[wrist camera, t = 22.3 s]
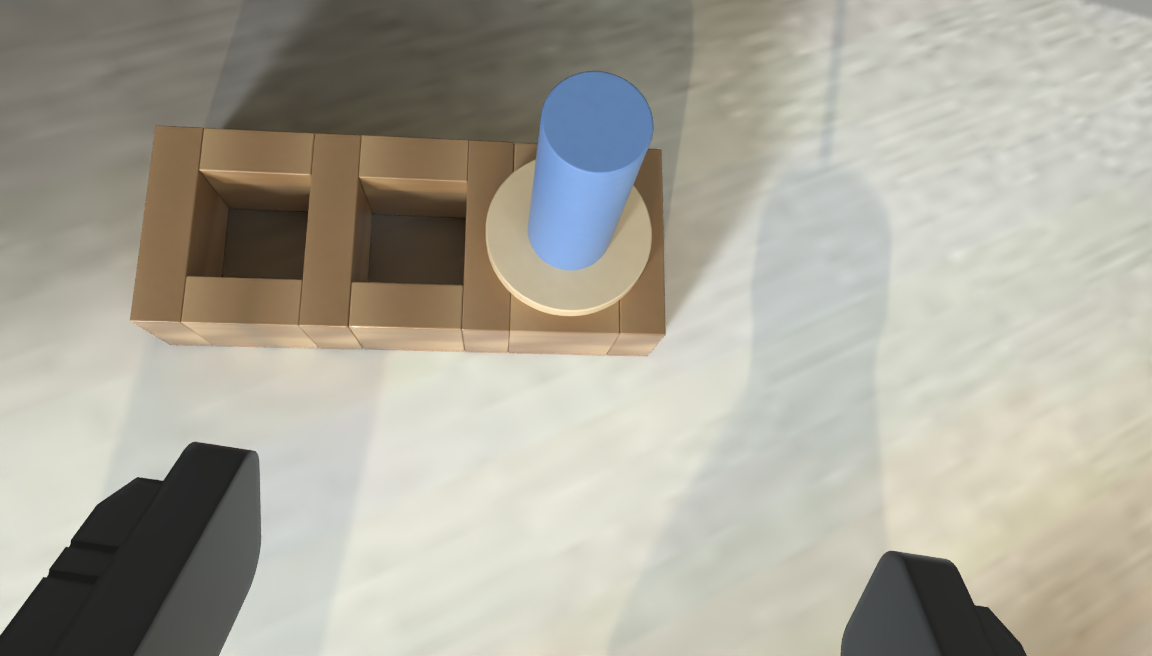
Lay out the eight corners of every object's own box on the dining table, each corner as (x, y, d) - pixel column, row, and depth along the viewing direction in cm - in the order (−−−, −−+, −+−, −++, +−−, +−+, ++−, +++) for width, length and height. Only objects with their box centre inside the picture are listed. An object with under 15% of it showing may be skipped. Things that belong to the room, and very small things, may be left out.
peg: (464, 307, 36) (450, 183, 23) (515, 173, 37) (527, -10, 25) (609, 356, 36) (672, 260, 23) (653, 221, 37) (734, 63, 25)
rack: (169, 344, 35) (129, 321, 31) (190, 168, 37) (155, 124, 33) (647, 356, 37) (666, 335, 33) (645, 187, 39) (662, 148, 35)
